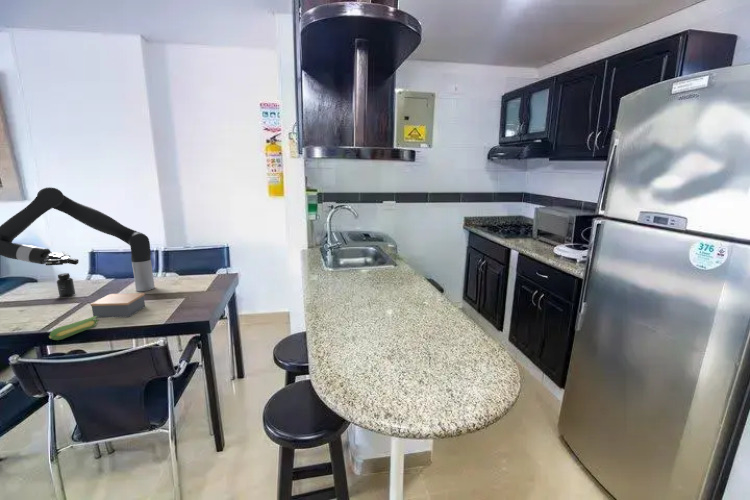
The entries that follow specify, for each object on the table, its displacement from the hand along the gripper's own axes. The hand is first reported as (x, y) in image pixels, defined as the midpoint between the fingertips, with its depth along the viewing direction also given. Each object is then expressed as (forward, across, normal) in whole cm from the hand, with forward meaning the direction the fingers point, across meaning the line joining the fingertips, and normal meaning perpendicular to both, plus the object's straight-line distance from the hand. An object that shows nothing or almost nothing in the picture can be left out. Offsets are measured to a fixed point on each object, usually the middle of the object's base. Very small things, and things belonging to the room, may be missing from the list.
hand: (77, 262), depth 166 cm
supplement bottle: (-17, +26, +34) cm, 46 cm away
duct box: (+22, -6, +20) cm, 30 cm away
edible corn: (+15, -27, +20) cm, 36 cm away
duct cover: (+21, -5, +14) cm, 25 cm away
